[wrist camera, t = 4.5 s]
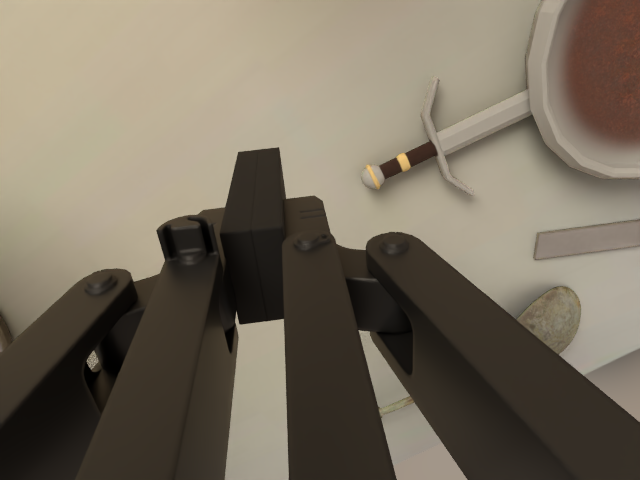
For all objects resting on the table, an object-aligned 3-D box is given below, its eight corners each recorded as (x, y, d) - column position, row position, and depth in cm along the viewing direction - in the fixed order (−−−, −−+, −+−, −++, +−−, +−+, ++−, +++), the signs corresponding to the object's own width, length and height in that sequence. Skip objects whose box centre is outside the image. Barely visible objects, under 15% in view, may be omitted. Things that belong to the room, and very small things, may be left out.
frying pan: (306, 58, 24) (865, -233, 20) (303, 52, 27) (799, -207, 23) (411, 289, 32) (828, 112, 28) (401, 268, 34) (782, 103, 31)
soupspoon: (582, 321, 39) (560, 265, 36) (609, 345, 36) (587, 286, 33) (364, 434, 42) (328, 391, 39) (371, 466, 39) (334, 421, 36)
